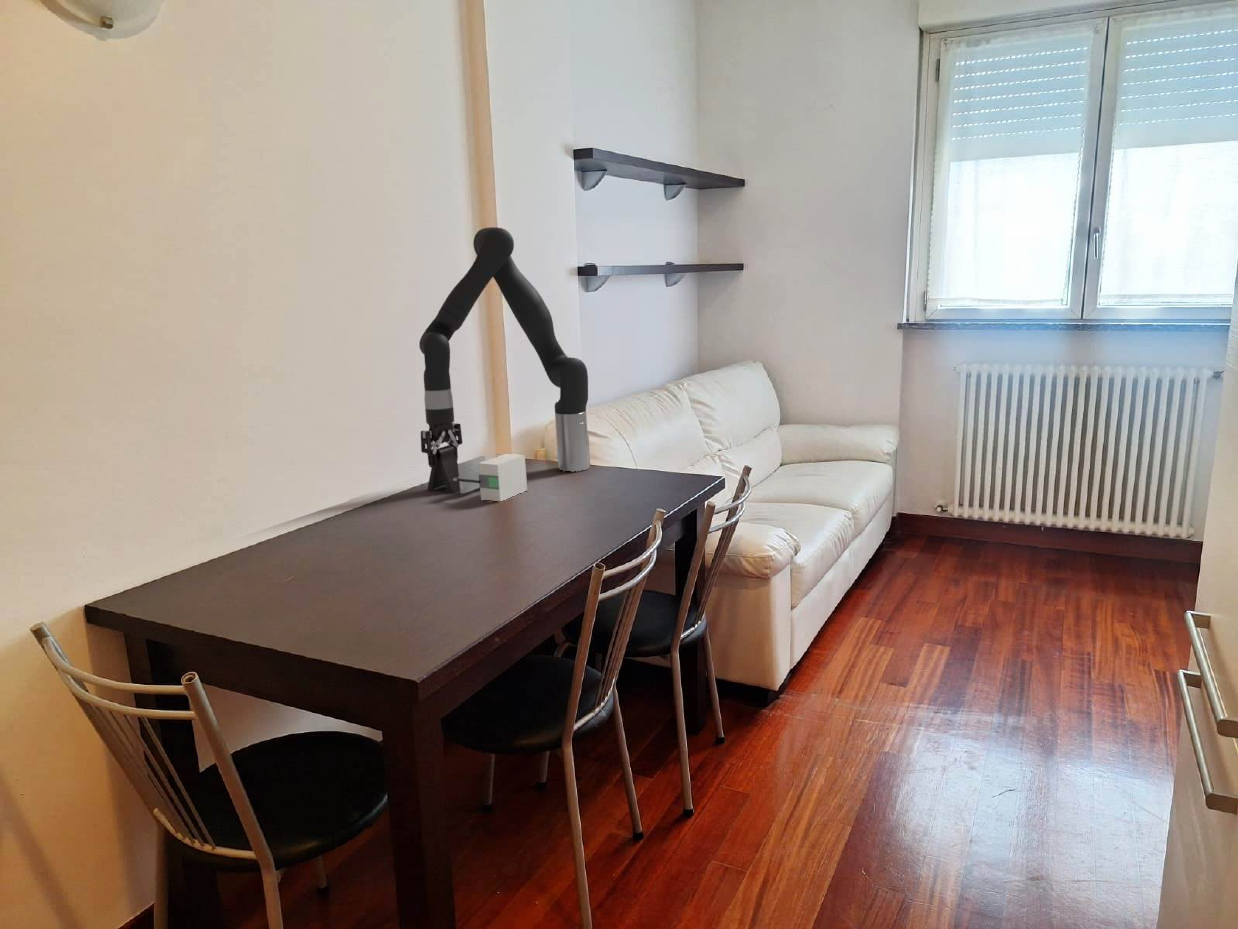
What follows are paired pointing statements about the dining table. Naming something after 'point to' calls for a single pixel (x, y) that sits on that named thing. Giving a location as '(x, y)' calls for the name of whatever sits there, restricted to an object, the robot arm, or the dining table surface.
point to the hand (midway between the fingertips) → (443, 464)
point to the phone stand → (444, 472)
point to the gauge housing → (502, 477)
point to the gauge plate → (469, 474)
